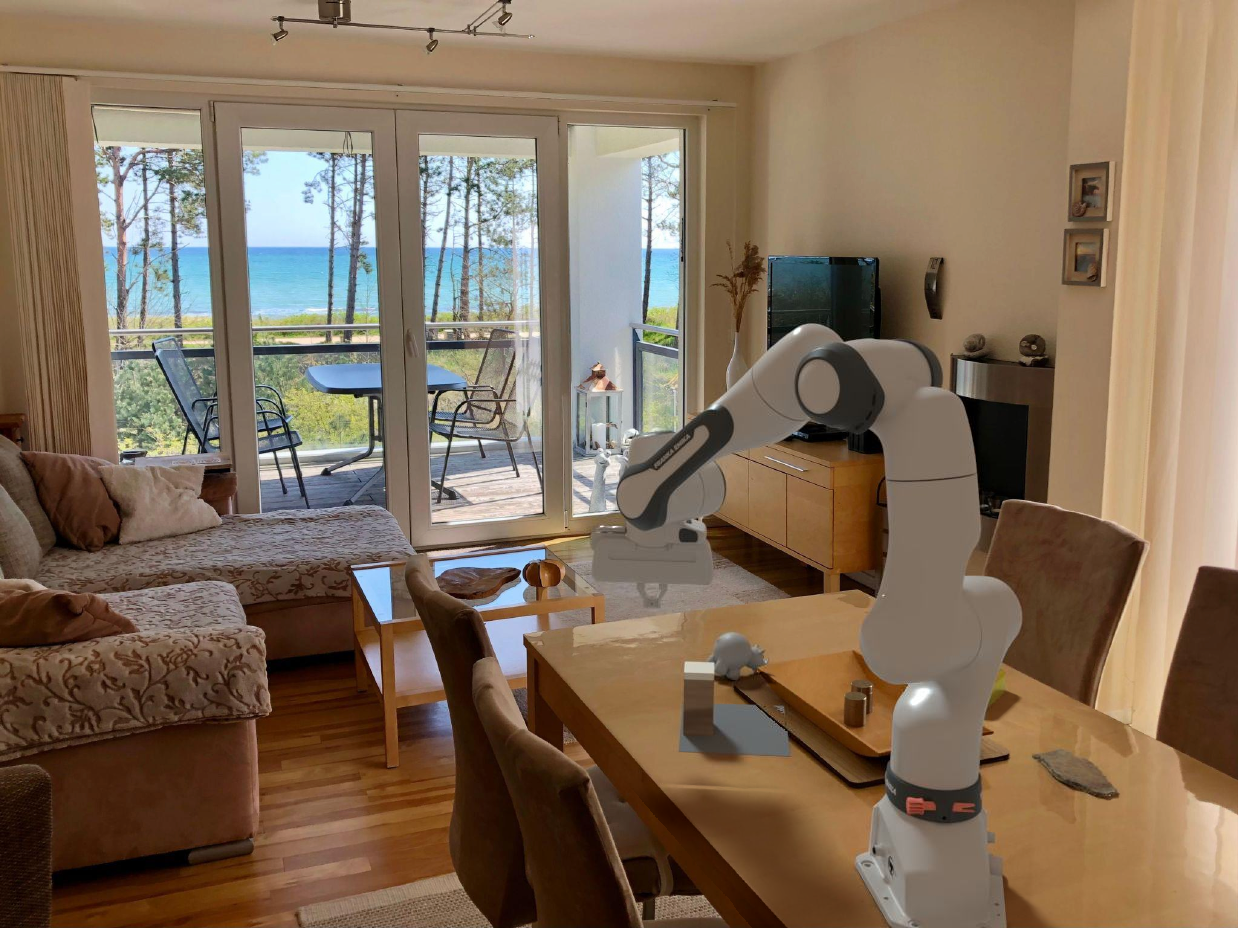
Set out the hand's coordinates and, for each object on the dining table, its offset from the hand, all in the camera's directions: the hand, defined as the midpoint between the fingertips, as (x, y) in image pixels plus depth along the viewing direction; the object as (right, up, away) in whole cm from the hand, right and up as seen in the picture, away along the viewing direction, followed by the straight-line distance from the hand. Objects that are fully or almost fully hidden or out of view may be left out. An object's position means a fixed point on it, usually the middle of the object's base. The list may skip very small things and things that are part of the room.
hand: (652, 607), depth 183 cm
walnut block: (+8, -21, +3) cm, 23 cm away
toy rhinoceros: (+18, -17, +28) cm, 37 cm away
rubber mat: (+14, -21, +4) cm, 26 cm away
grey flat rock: (+66, -25, -12) cm, 71 cm away
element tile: (+57, -19, +21) cm, 63 cm away
